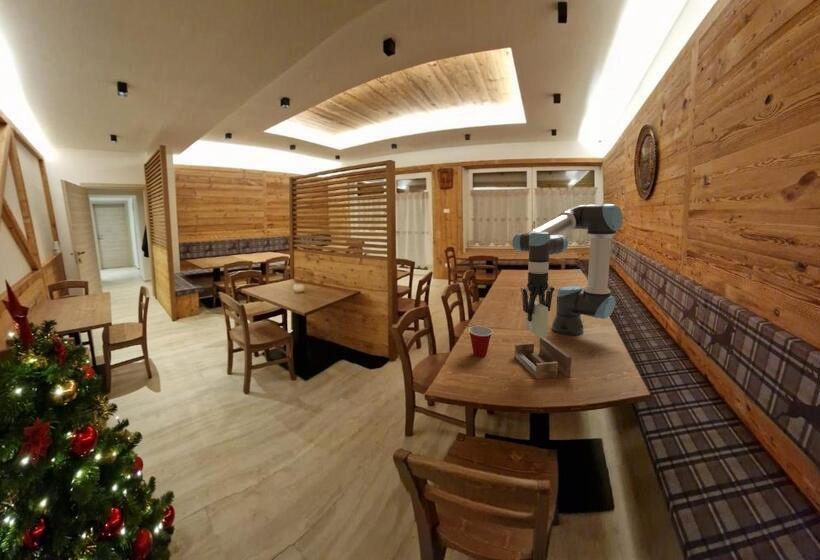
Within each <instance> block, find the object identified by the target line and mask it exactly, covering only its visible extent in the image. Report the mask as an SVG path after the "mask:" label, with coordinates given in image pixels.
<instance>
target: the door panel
mask: <svg viewBox="0 0 820 560" xmlns="http://www.w3.org/2000/svg"><path fill="white" fill-rule="evenodd" d="M528 304H529V299H528ZM533 314H535V316H534V330H532V329H530V328H529V321H528V313H526V312H525V329H527V330H528V331H530V332H531V333H533V334H534V335H535V336H537V337H538V338H539V339H540V337H544V338H547V337H548V319H549V317H548V316H549V311H548V307H546V306H544V305H542V304H541V303H539V301H538V300H537V301H536V300H535V304H534V309H533Z"/></svg>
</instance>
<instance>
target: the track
mask: <svg viewBox="0 0 820 560" xmlns="http://www.w3.org/2000/svg"><path fill="white" fill-rule="evenodd" d="M538 349H539V351H538V354H539V355H540V356H539V355H538V354H537V353H535V343H534V342H533V341H532V342H524V343H514V357H515V359H516V360H517V361H518V362H520V363H521V365H523V366H524V367H525V369H527V371H529V372H530V373H531V375H533V377H535V378H536V380H544V379H551V378H554V379H555V378H558V372H561V374H563V375H564V376H565V377H571V372H572V369H571V368H572V356H570V355H569V354H568V353H566V352H565V351H564V350H562V349H561V348H560V347H558V346H557V345H555V343H553V342H551V341H550V340H549V339H547V337H540V338H539V348H538ZM541 357H543V358H544V359H545V360H546V361H545V360H543V358H541ZM528 358H530V359H532V361H534V363H536V364H534V363H533V362H531V360H529V359H528Z"/></svg>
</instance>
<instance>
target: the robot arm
mask: <svg viewBox="0 0 820 560" xmlns="http://www.w3.org/2000/svg"><path fill="white" fill-rule="evenodd" d="M622 225H623V212H622V210H621V207H620V206H618V205H617V204H614V203H600V204H598V203H597V204H593V203H592V204H580V205H576V206H574V207H570V208H568V209H567V210H565V211H562V212H561V213H559V214H558V215H557V217H556V218H553V219H551V220H550V221H547V222H545V223H543V224H542V225H540V226H538V227H536V228H534V229H532V230H530V231H529V232H526V233H516V234H515V235H514V236H513V237H512V241H511V242H512V248H513V249H514V250H516V251H518V252H525V253H527V252H528V262H527V263H528V264H527V265H528V269H527V270H528V272H527V285H526V286H525V287H522V288H520V292H521V296H522V311H523V312H524V313H525V314H526V313H528V321H529V328H530V329H532V330H534V316H535V314H533V309H534V304H535V301H536V298H537V297H538V302H539V303H541V304H542V305H544V306H546V307H548V312H550V311H551V306H552V299H553V293H554V291H555V287H553V286H551V285H549V269H550V256H552V255H559V254H561V253H563V252H565V251H566V250H567V249H568V247H569V240H568V239H567V237H566V236H565V235H562V234H563V233H565V232H570V231H573V230H587V232H586V233H587V235H588V236H589V238H590V243H589V258H588V273H587V275H588V276H587V286H586V287H585V288H583V287H581V286H575V285H573V286H571V285H570V286H564V287H560V288H558V289H557V292H556V310H555V317H554V319H553V322H552V324H551V330H552V331H553V332H555V333H558V334H561V335H562V334H563V335H566V336H567V335H568V336H569V335H570V336H576V335H581V334H583V333H584V324H583V320H582V318H581V317H582V315H583V316H588V317H591V318H595V319H601V320H606V319H608V318H609V317H610V316H611V315H612V313H613V311H614V310H615V307H616V302H617V300H616V298H615V296H613V295H612V290H610V288H609V286H608V285H609V274H610V263H611V252H612V238H613V237H614V236H615V235H616V234H617V231H619V230H620V229H621V227H622ZM545 292H546V293H545ZM528 294H529V295H528ZM528 300H529V304H528Z"/></svg>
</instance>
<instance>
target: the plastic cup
mask: <svg viewBox="0 0 820 560" xmlns="http://www.w3.org/2000/svg"><path fill="white" fill-rule="evenodd" d="M468 332H469V335H470V336H469V337H470V341H471V342H470V343H471V348H472V352H473V355H474V356H476V357H479V358H482V357H486V356H487V353H488V351H489V343H490V342H491V341H490V340H491V336H492V334H493V333H494V331H493V329H491V328H490V327H487V326H483V325H472V326H470V327H468Z"/></svg>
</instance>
